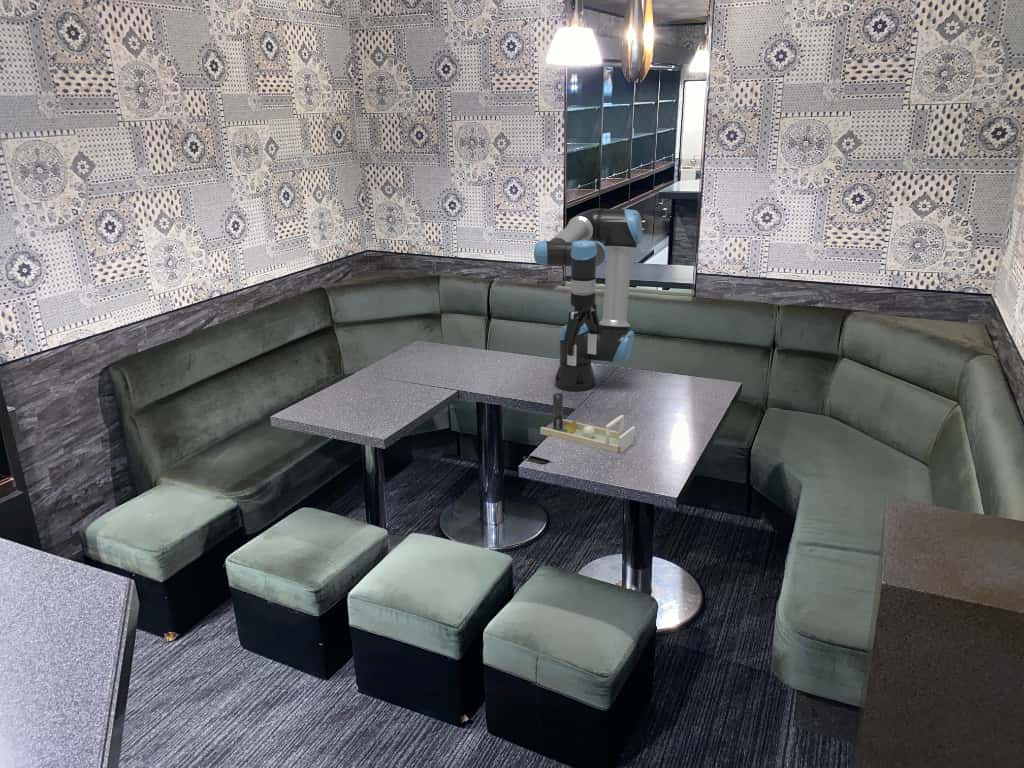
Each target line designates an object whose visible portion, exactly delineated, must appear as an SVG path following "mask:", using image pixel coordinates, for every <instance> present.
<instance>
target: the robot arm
mask: <svg viewBox="0 0 1024 768" xmlns="http://www.w3.org/2000/svg"><path fill="white" fill-rule="evenodd" d="M566 225H567V226H566V227H565V228H563V229H562V230H561V231H560V232H558V233H557V234H556V235H555V236H554V237H552V238H551V239H550V240H538V241H537V242H536V243H535V245H534V249H533V257H534V261H535V263H536V264H537V265H544V266H554V267H555V266H560V267H561V266H562V267H570V292H571V293H570V305H571V306H572V307H573V308H574V311H570V312H569V313H568V320H567V324H565V325H563V326H562V327H561V328H560V330H559V366H558V369H557V371H556V375H555V378H554V386H555V387H557V388H558V389H561V390H563V391H567V392H568V391H569V392H582V391H587V390H591V389H594V388H595V387H596V383H597V382H596V380H597V379H596V376H595V375H596V374H595V373H594V370H593V367H592V361H600V362H609V363H626V362H627V361H629V358H630V356H631V354H632V351H633V347H634V343H635V342H634V341H635V331H633V330H631V325H630V323H629V322H628V321H627V316H628V306H629V305H628V304H629V292H630V280H631V279H630V278H631V268H632V267H631V266H632V256H633V255H632V254H633V253H634V252H635V251H636V250H637V246H638V245H639V244H641V243H642V241H643V222H642V217H641V214H640V212H639V211H638V210H636V209H629V208H592V209H589V210H586V211H583V212H580V213H579V214H577V215H575V216H573V217H572V218H570V219H569V221H568V223H567V224H566ZM605 260H606V267H605V268H606V269H605V281H604V282H605V283H604V295H603V296H604V297H603V308H602V309H603V311H602V319H601V320H600V321H599V316H598V311H597V303H596V293H595V292H596V286H597V283H596V280H597V279H596V278H597V275H596V274H597V267H599V266H600V265H602V264H603V262H605Z"/></svg>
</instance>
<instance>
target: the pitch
mask: <svg viewBox="0 0 1024 768" xmlns="http://www.w3.org/2000/svg"><path fill="white" fill-rule="evenodd" d="M624 419H625V415H624V414H620V415H618V416H617V417H616V418H614V419H613V420H612V421H610V422H609V423H607V424H605V428H604V427H599V426H595V425H591V424H586V423H582V422H577V421H575V422H576V431H574V432H573V433H571V434H570V433H565V432H561V431H557V430H553V429H549V428H545V427H546V426H545V427H544V426H540V427H539V428H540V429H539V431H540V432H539V434H540V435H544V436H548V437H552V438H556V439H560V440H564V441H568V442H572V443H576V444H580V445H583V446H588V447H591V448H592V447H593V448H596V449H600V450H604V451H608V452H612V453H616V454H622V453H623V452H625V451H626V450H627V449H628V448H629V447H630V446H632V445H633V444H634V443H635V442H636V426H634V425H633V426H631V427H630V428H629V429H628V430H626V431H625V432H624V422H625V421H624ZM571 422H573V420H568V419H564V418H563V424H566V425H568V424H570V423H571ZM618 423H619V429H618V431H616V430H612V428H613V427H614V426H615V425H617V424H618ZM585 426H592V427H593V428H594V430H595V434H594V436H593V437H592V438H586V437H584V436H583V435H582V430H583V428H584V427H585ZM550 435H551V436H550Z"/></svg>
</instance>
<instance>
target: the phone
mask: <svg viewBox="0 0 1024 768" xmlns="http://www.w3.org/2000/svg"><path fill="white" fill-rule="evenodd" d="M530 455H531V454H527V453H526V454H523V456H522V461H523V460H524V461H526V459H528V460H527V461H526V462H530V463H534V462H535V463H534V464H539V465H546V464H548V463H549V462H551V461H550V460H549V459H545V458H542V457H538V456H533V455H531V456H530ZM529 456H530V457H529ZM528 457H529V458H528Z"/></svg>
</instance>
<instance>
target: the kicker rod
mask: <svg viewBox="0 0 1024 768" xmlns="http://www.w3.org/2000/svg"><path fill="white" fill-rule="evenodd" d="M552 396H553V397H552V408H553V410H552V418H553V419H552V422H551V423H549V424H547V425H546V426H545V428H549V429H553V430H557V431H561V432H565V433H570V434H571V433H573V432H574V431H576V422H577V421H575V420H574V421H573V420H572V421H573V422H571V423H570V424H568V425H566V424H563V419H564V416H563V415H564V414H563V413H564V412H563V411H564V410H563V407H564V403H563V402H564V398H563V397H564V394H562V393H560V392H558V393H557V392H556V393H553V394H552Z"/></svg>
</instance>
